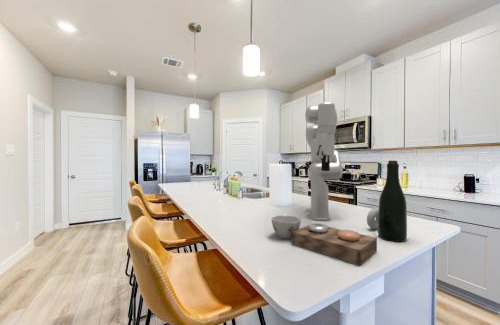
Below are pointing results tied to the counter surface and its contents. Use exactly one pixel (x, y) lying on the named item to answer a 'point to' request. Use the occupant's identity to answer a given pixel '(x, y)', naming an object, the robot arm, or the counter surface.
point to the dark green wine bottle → (392, 207)
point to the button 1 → (318, 228)
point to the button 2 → (348, 235)
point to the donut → (373, 218)
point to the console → (336, 245)
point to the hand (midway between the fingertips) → (325, 170)
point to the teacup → (285, 225)
